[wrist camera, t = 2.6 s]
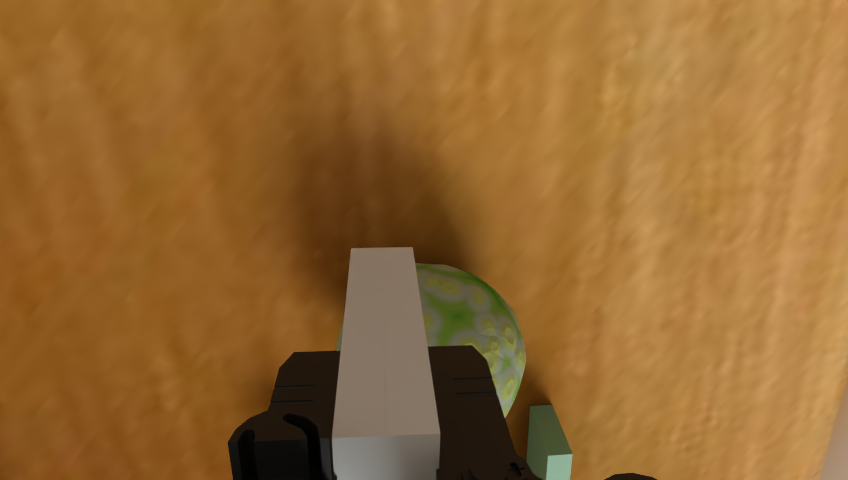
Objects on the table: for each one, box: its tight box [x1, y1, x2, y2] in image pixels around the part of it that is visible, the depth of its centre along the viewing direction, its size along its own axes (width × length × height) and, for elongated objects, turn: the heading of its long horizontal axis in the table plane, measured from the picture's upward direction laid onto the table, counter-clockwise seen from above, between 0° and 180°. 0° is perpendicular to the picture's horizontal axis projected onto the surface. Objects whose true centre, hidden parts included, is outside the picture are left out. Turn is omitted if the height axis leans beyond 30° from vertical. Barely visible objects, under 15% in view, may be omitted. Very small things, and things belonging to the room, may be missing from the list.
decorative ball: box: [336, 263, 526, 417], centre depth 30 cm, size 10×10×10 cm
